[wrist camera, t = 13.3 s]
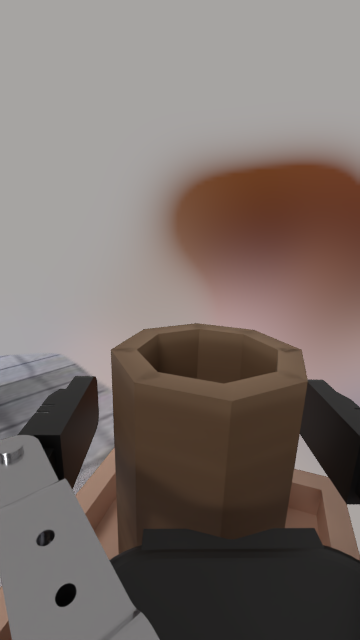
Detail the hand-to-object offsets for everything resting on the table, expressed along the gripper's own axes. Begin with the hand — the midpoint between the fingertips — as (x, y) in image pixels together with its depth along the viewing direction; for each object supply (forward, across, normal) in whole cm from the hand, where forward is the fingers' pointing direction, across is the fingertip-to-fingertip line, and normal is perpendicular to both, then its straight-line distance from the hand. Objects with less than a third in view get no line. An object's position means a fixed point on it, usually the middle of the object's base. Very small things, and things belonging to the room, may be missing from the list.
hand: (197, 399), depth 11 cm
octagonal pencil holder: (-2, 0, +7) cm, 7 cm away
